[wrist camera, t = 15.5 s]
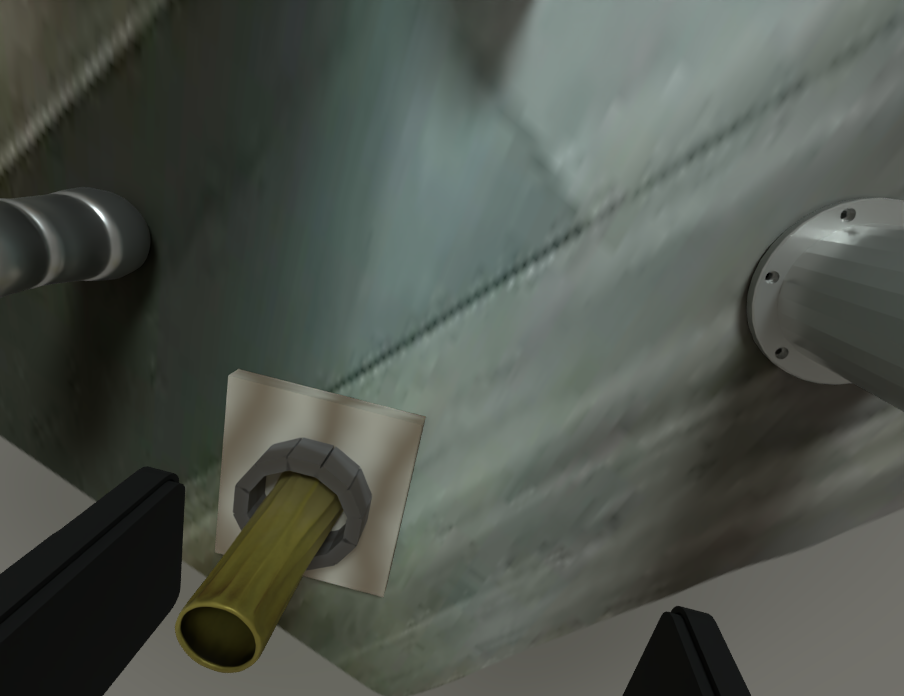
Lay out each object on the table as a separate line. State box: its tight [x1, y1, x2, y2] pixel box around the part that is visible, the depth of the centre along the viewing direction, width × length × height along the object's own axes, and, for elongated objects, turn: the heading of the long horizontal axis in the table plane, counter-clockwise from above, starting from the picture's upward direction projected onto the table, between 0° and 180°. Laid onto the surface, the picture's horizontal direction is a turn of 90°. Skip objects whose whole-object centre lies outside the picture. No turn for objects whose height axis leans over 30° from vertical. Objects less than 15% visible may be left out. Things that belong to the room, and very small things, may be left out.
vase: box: [175, 471, 343, 673], centre depth 35 cm, size 6×6×14 cm
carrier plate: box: [215, 369, 426, 597], centre depth 41 cm, size 16×18×4 cm
